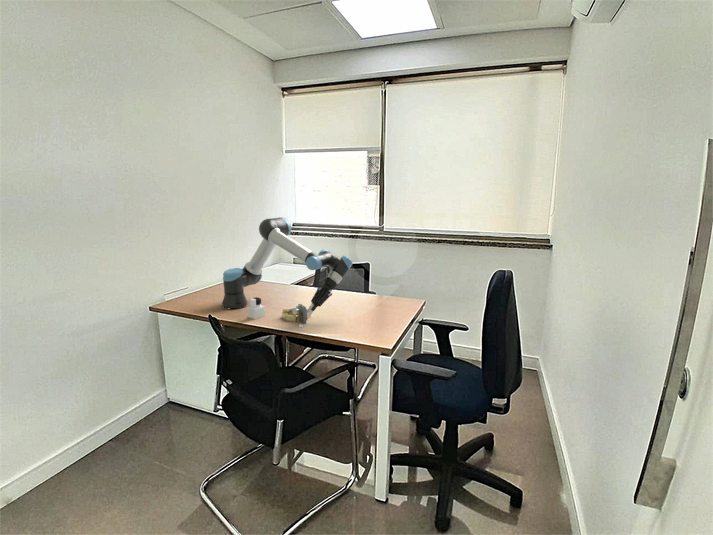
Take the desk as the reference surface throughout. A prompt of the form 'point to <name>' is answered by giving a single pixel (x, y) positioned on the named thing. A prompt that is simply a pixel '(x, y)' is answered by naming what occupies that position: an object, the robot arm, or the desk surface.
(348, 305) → the desk surface
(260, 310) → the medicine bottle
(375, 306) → the desk surface
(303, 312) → the block with gold ring
